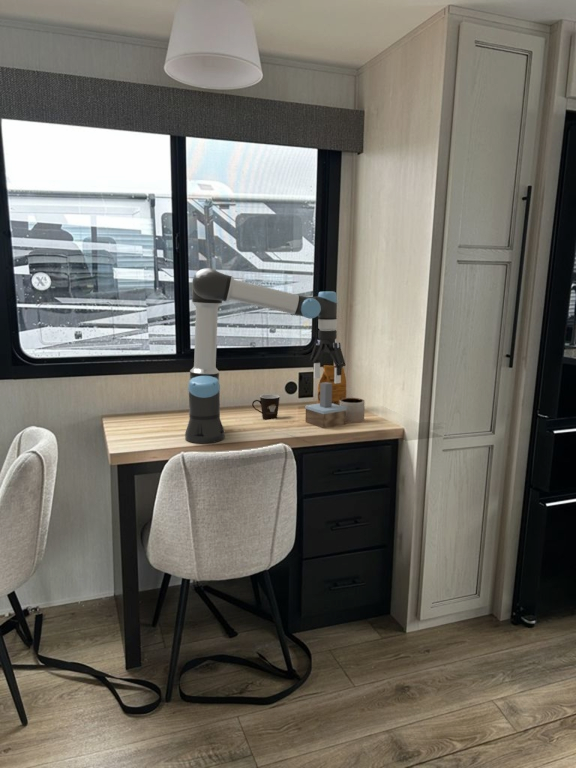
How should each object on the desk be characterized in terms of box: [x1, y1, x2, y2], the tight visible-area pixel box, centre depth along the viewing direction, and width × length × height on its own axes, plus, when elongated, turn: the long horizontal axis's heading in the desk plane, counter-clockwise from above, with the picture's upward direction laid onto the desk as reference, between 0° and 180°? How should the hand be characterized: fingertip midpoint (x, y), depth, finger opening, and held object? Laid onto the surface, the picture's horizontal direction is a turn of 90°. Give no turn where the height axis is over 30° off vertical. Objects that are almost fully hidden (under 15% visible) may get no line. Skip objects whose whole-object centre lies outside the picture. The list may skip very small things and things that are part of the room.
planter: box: [340, 397, 366, 424], centre depth 253 cm, size 11×11×10 cm
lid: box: [304, 382, 347, 414], centre depth 244 cm, size 12×12×13 cm
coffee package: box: [316, 365, 347, 406], centre depth 270 cm, size 10×12×22 cm
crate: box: [305, 409, 347, 429], centre depth 246 cm, size 12×12×7 cm
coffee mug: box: [251, 393, 281, 421], centre depth 257 cm, size 12×9×10 cm
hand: (326, 380), depth 243 cm, fingers open, 13 cm apart
